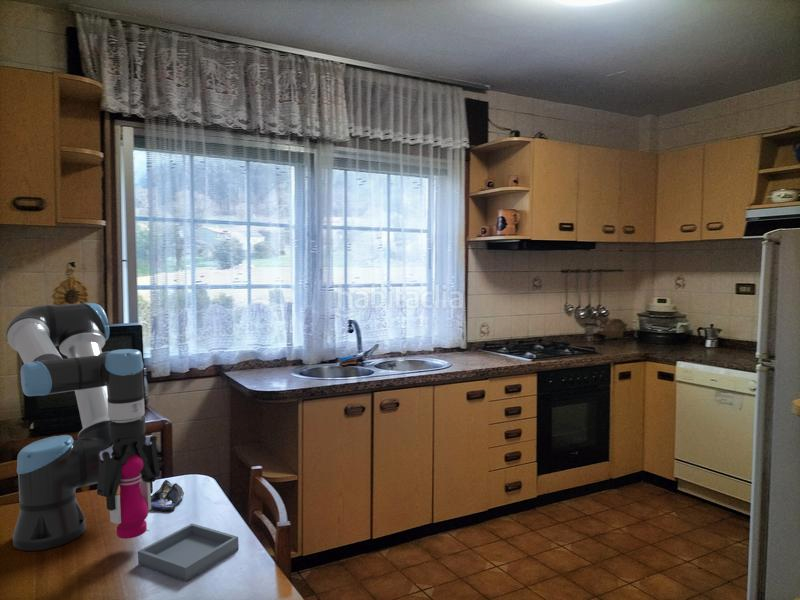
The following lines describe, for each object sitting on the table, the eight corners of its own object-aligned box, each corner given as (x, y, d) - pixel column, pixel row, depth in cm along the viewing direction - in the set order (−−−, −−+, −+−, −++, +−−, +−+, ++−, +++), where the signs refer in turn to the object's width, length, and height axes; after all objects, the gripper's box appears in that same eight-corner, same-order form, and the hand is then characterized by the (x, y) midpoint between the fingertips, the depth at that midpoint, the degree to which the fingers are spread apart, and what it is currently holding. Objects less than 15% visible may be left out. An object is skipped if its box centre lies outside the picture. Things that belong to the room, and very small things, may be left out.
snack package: (201, 502, 160) (177, 491, 167) (197, 481, 159) (173, 471, 166) (162, 525, 151) (138, 512, 158) (157, 503, 150) (133, 491, 157)
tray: (138, 564, 127) (137, 551, 127) (192, 535, 140) (192, 523, 140) (186, 581, 120) (185, 567, 119) (238, 549, 133) (238, 536, 132)
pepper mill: (136, 541, 130) (132, 454, 128) (107, 538, 131) (103, 452, 129) (155, 526, 137) (152, 443, 135) (127, 523, 138) (124, 442, 136)
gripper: (95, 432, 121) (101, 538, 123) (174, 409, 138) (178, 501, 140) (73, 427, 124) (79, 530, 126) (153, 405, 142) (157, 495, 144)
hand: (131, 515), depth 133 cm, fingers closed on pepper mill, 7 cm apart
